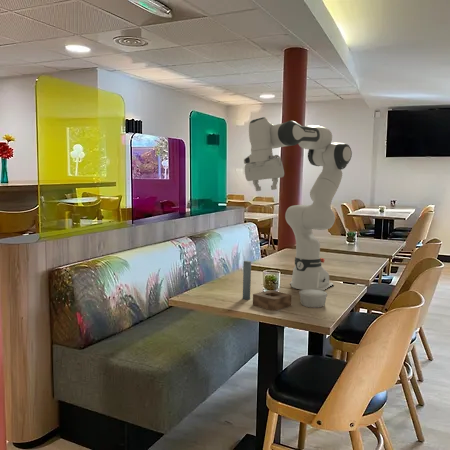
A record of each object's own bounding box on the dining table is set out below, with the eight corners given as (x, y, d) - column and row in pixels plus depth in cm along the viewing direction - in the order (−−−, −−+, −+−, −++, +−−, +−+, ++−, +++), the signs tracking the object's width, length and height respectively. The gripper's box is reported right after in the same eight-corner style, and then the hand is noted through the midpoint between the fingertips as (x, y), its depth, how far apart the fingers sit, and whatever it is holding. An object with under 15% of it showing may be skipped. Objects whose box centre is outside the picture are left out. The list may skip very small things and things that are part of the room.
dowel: (246, 297, 198) (247, 260, 197) (251, 298, 196) (252, 261, 195) (241, 298, 196) (242, 261, 195) (246, 300, 194) (247, 262, 192)
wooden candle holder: (270, 300, 194) (270, 289, 194) (291, 305, 186) (291, 295, 186) (252, 305, 186) (252, 294, 186) (273, 310, 179) (274, 299, 178)
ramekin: (296, 301, 194) (296, 289, 194) (322, 301, 195) (322, 289, 195) (302, 308, 183) (302, 295, 183) (330, 308, 184) (330, 295, 183)
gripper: (285, 153, 186) (289, 187, 187) (251, 159, 202) (255, 190, 203) (274, 154, 182) (278, 189, 184) (240, 160, 198) (244, 192, 200)
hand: (266, 190), depth 194 cm, fingers open, 8 cm apart
